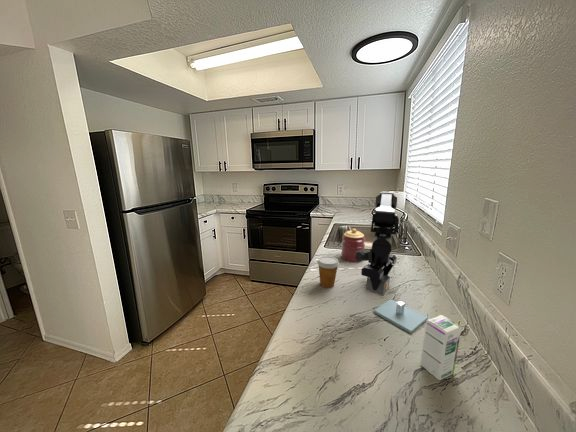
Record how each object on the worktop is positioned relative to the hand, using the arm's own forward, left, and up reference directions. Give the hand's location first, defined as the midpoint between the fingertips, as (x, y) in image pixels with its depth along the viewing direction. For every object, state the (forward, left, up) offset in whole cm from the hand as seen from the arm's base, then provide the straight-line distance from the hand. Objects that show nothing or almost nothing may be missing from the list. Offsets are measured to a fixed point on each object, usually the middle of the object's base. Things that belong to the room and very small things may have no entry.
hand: (377, 286), depth 87 cm
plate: (+6, +6, -11) cm, 14 cm away
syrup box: (+24, -8, -11) cm, 28 cm away
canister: (-38, +35, -11) cm, 53 cm away
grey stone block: (+6, +6, -10) cm, 13 cm away
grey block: (0, 0, -1) cm, 1 cm away
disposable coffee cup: (-26, +1, -11) cm, 28 cm away
